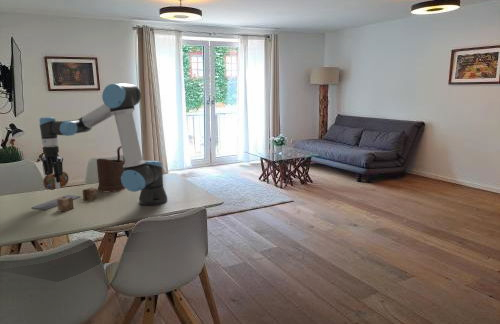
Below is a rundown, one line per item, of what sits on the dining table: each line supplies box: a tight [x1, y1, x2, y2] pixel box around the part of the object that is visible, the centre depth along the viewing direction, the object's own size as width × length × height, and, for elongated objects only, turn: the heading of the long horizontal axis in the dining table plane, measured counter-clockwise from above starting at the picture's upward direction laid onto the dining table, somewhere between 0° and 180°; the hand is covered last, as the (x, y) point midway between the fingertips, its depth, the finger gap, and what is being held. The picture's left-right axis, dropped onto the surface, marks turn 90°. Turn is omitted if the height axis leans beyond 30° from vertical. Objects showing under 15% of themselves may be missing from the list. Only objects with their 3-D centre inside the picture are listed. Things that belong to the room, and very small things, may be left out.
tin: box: [42, 171, 69, 191], centre depth 200 cm, size 15×3×8 cm, turn 161°
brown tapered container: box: [96, 146, 127, 193], centre depth 231 cm, size 18×24×25 cm
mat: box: [31, 194, 82, 211], centre depth 202 cm, size 10×24×1 cm, turn 161°
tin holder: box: [56, 187, 98, 212], centre depth 198 cm, size 6×23×6 cm, turn 161°
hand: (55, 187), depth 200 cm, fingers closed on tin, 3 cm apart
